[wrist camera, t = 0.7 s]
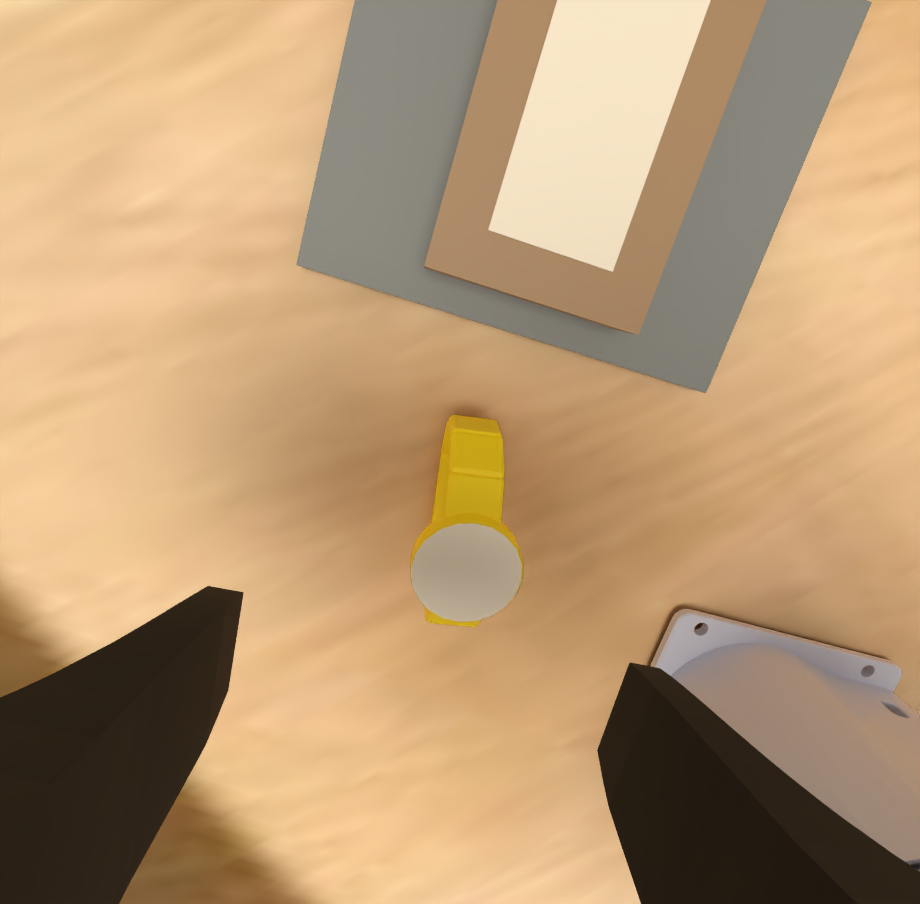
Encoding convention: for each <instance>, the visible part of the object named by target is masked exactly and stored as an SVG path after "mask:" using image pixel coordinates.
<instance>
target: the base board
mask: <svg viewBox="0 0 920 904" xmlns="http://www.w3.org/2000/svg"><path fill="white" fill-rule="evenodd" d="M871 3H872V2H870V1H867V0H355V2H354V7H353V11H352V16H351V20H350V25H349V29H348V34H347V38H346V43H345V47H344V52H343V57H342V61H341V66H340V70H339V75H338V79H337V84H336V88H335V93H334V97H333V102H332V106H331V111H330V115H329V120H328V124H327V129H326V133H325V138H324V142H323V147H322V152H321V156H320V161H319V165H318V170H317V174H316V179H315V183H314V188H313V192H312V197H311V201H310V206H309V210H308V215H307V219H306V224H305V228H304V233H303V237H302V242H301V247H300V251H299V256H298V260H297V265H298V266H301V267H304V268H307V269H311V270H314V271H317V272H320V273H323V274H326V275H330V276H333V277H336V278H339V279H342V280H346V281H349V282H352V283H355V284H358V285H362V286H365V287H368V288H371V289H374V290H378V291H381V292H384V293H387V294H390V295H393V296H397V297H400V298H403V299H406V300H409V301H413V302H416V303H419V304H422V305H425V306H429V307H432V308H435V309H438V310H441V311H445V312H448V313H451V314H454V315H457V316H460V317H464V318H467V319H470V320H473V321H476V322H480V323H483V324H486V325H489V326H492V327H496V328H499V329H502V330H505V331H508V332H512V333H515V334H518V335H521V336H524V337H527V338H531V339H534V340H537V341H540V342H543V343H547V344H550V345H553V346H556V347H559V348H563V349H566V350H569V351H572V352H575V353H579V354H582V355H585V356H588V357H591V358H594V359H598V360H601V361H604V362H607V363H610V364H614V365H617V366H620V367H623V368H626V369H630V370H633V371H636V372H639V373H642V374H646V375H649V376H652V377H655V378H658V379H661V380H665V381H668V382H671V383H674V384H677V385H681V386H684V387H687V388H690V389H693V390H697V391H700V392H703V393H706V392H707V389H708V387H709V385H710V382H711V380H712V378H713V375H714V373H715V371H716V368H717V366H718V363H719V361H720V359H721V356H722V354H723V352H724V349H725V347H726V345H727V342H728V340H729V338H730V335H731V333H732V331H733V328H734V326H735V323H736V321H737V319H738V316H739V314H740V312H741V309H742V307H743V305H744V302H745V300H746V298H747V295H748V293H749V290H750V288H751V286H752V283H753V281H754V279H755V276H756V274H757V272H758V269H759V267H760V265H761V262H762V260H763V257H764V255H765V253H766V250H767V248H768V246H769V243H770V241H771V239H772V236H773V234H774V232H775V229H776V227H777V224H778V222H779V220H780V217H781V215H782V213H783V210H784V208H785V206H786V203H787V201H788V199H789V196H790V194H791V191H792V189H793V187H794V184H795V182H796V180H797V177H798V175H799V173H800V170H801V168H802V166H803V163H804V161H805V158H806V156H807V154H808V151H809V149H810V147H811V144H812V142H813V140H814V137H815V135H816V133H817V130H818V128H819V125H820V123H821V121H822V118H823V116H824V114H825V111H826V109H827V107H828V104H829V102H830V100H831V97H832V95H833V92H834V90H835V88H836V85H837V83H838V81H839V78H840V76H841V74H842V71H843V69H844V67H845V64H846V62H847V59H848V57H849V55H850V52H851V50H852V48H853V45H854V43H855V41H856V38H857V36H858V34H859V31H860V29H861V27H862V24H863V22H864V19H865V17H866V15H867V12H868V10H869V8H870V5H871Z"/></svg>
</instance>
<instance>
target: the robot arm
mask: <svg viewBox="0 0 920 904" xmlns="http://www.w3.org/2000/svg"><path fill="white" fill-rule="evenodd" d="M242 598H243V592H238V591H233V590H227V589H222V588H216V587H211V586H207V587H206V588H204V589H202V590H200V591H199V592H197V593H195V594H194V595H192V596H190V597H189V598H187V599H185V600H184V601H182V602H180V603H179V604H177V605H175V606H174V607H172V608H170V609H169V610H167V611H166V612H164V613H162V614H161V615H159V616H157V617H156V618H154V619H152V620H151V621H149V622H147V623H146V624H144V625H142V626H141V627H139V628H137V629H135V630H134V631H132V632H130V633H128V634H127V635H125V636H123V637H121V638H120V639H118V640H116V641H115V642H113V643H111V644H109V645H107V646H105V647H103V648H101V649H100V650H98V651H96V652H94V653H92V654H90V655H88V656H86V657H84V658H82V659H80V660H78V661H77V662H75V663H73V664H71V665H69V666H67V667H65V668H63V669H61V670H59V671H57V672H55V673H53V674H51V675H49V676H47V677H45V678H43V679H41V680H39V681H37V682H34V683H32V684H30V685H28V686H26V687H24V688H21V689H19V690H17V691H15V692H12V693H10V694H8V695H5V696H3V697H1V698H0V904H119V903H120V901H121V899H122V897H123V895H124V893H125V891H126V889H127V887H128V885H129V883H130V881H131V879H132V877H133V876H134V874H135V872H136V870H137V868H138V867H139V865H140V863H141V861H142V859H143V858H144V856H145V854H146V852H147V850H148V849H149V847H150V845H151V843H152V841H153V840H154V838H155V836H156V834H157V832H158V831H159V829H160V827H161V825H162V823H163V822H164V820H165V818H166V816H167V814H168V813H169V811H170V809H171V807H172V805H173V804H174V802H175V800H176V798H177V796H178V795H179V793H180V791H181V789H182V787H183V785H184V784H185V782H186V780H187V778H188V776H189V774H190V773H191V771H192V769H193V767H194V765H195V764H196V762H197V760H198V758H199V756H200V754H201V753H202V751H203V749H204V747H205V745H206V743H207V740H208V738H209V736H210V733H211V731H212V728H213V726H214V724H215V721H216V719H217V717H218V714H219V712H220V709H221V707H222V704H223V702H224V699H225V697H226V694H227V692H228V688H229V682H230V675H231V669H232V663H233V656H234V650H235V643H236V637H237V630H238V624H239V618H240V611H241V605H242ZM699 623H703V625H702V626H701V628H698V629H694V628H695V626H696V625H697V624H699ZM865 666H866V667H865ZM864 667H865V668H864ZM863 668H864V669H863ZM901 677H902V670H901V669H900V667H899V666H897V665H896V664H895V663H894V662H892V661H890V660H886V659H882V658H879V657H875V656H871V655H867V654H863V653H859V652H855V651H851V650H847V649H844V648H840V647H836V646H832V645H828V644H824V643H820V642H816V641H812V640H809V639H805V638H801V637H797V636H793V635H789V634H785V633H781V632H777V631H774V630H770V629H766V628H762V627H758V626H754V625H750V624H746V623H742V622H739V621H735V620H731V619H727V618H723V617H719V616H715V615H711V614H707V613H704V612H700V611H696V610H692V609H682V610H679V611H678V612H676V613H675V614H674V616H673V617H672V619H671V621H670V623H669V626H668V628H667V630H666V632H665V634H664V637H663V639H662V641H661V643H660V645H659V648H658V650H657V652H656V654H655V656H654V658H653V661H652V663H651V665H650V666H645V665H640V664H634V663H629V666H628V668H627V671H626V674H625V677H624V679H623V682H622V685H621V687H620V690H619V693H618V696H617V698H616V701H615V704H614V706H613V709H612V712H611V715H610V717H609V720H608V723H607V726H606V728H605V731H604V734H603V736H602V739H601V742H600V745H599V747H598V756H599V761H600V767H601V772H602V778H603V783H604V787H605V792H606V796H607V801H608V805H609V809H610V812H611V815H612V818H613V821H614V824H615V827H616V831H617V834H618V837H619V840H620V843H621V846H622V849H623V852H624V855H625V858H626V861H627V863H628V866H629V869H630V872H631V875H632V878H633V881H634V884H635V887H636V890H637V893H638V896H639V899H640V902H641V904H920V715H919V714H918V713H916V712H915V711H914V710H913V709H912V708H911V707H910V706H908V705H907V704H906V703H905V702H904V701H903V700H902V699H900V698H899V697H898V696H897V695H896V694H895V693H894V692H893V691H894V690H895V688H896V686H897V685H898V683H899V681H900V680H901Z"/></svg>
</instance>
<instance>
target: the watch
mask: <svg viewBox="0 0 920 904" xmlns="http://www.w3.org/2000/svg"><path fill="white" fill-rule="evenodd" d="M502 439H503V437H502V434H501V431H500V428H499V425H498V423H497V422H496V420H492V419H484V418H477V417H469V416H461V415H452V416H451V417H450V418H449V420H448V422H447V424H446V428H445V432H444V437H443V442H442V447H441V455H440V462H439V470H438V477H437V484H436V492H435V499H434V506H433V514H432V519H431V524H430V525H428V526H427V527H426V528H425V529H424V530H423V532H422V533H421V534H420V536H419V537H418V539H417V540H416V542H415V545H414V548H413V551H412V554H411V565H410V572H411V583H412V586H413V588H414V591H415V593H416V595H417V598H418V599H419V600H420V601H421V602H422V603H423V605H424V606H425V617H426V618H425V619H426V620H427V621H428V622H429V623H435V624H446V625H457V626H468V627H476V626H478V625H479V623H480V622H481V619H484V618H487V617H490V616H492V615H494V614H495V613H497V612H498V611H500V610H501V609H503V608H504V607H506V606H507V605H508V604H509V603H510V601H511V600H512V599H513V598H514V597H515V595H516V594H517V592H518V590H519V587H520V585H521V582H522V580H523V567H524V563H523V558H522V555H521V552H520V549H519V546H518V543H517V540H516V538H515V536H514V535H513V534H512V533H511V531H510V530H509V529H508V528H507V526H506V525H505V524H503V523H502V522H501V521H502V506H503V492H504V481H503V478H504V449H503V440H502Z"/></svg>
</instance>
